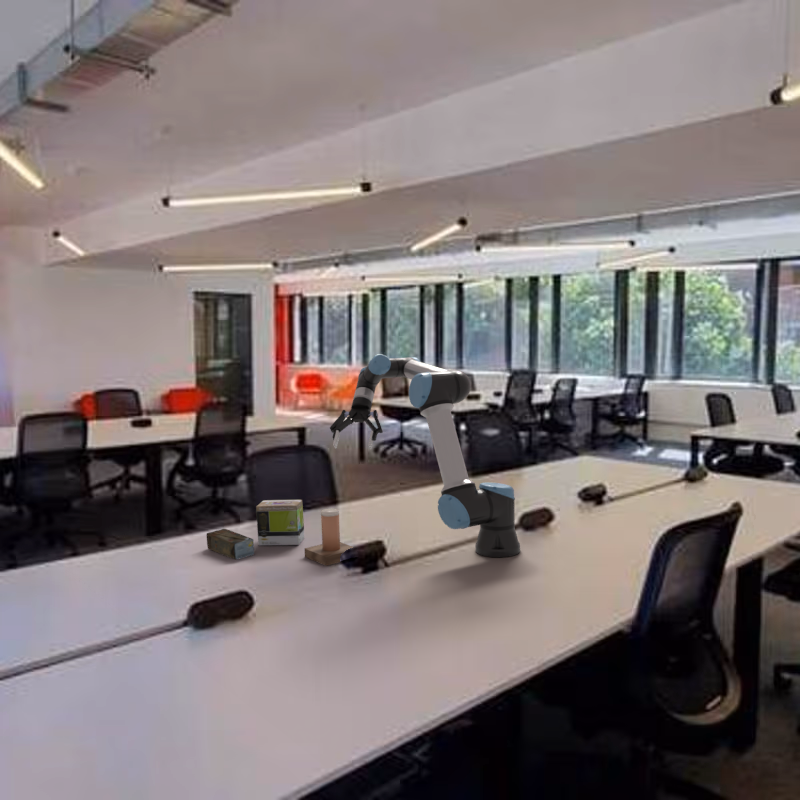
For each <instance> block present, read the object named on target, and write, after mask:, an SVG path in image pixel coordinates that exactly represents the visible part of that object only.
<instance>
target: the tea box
mask: <svg viewBox="0 0 800 800" xmlns="http://www.w3.org/2000/svg"><path fill="white" fill-rule="evenodd" d="M303 507H304V506H303V499H267V500H265V499H264V500H262V501H261V502H260V503H259V504H258V505H256V506H255V508H256V510H255V513H256V527H257V528H256V530H257V543H258V546H299V545H300V544H301V543H302V541H304V539H305V524H304V523H305V522H304V519H305V518H304V508H303Z"/></svg>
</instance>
